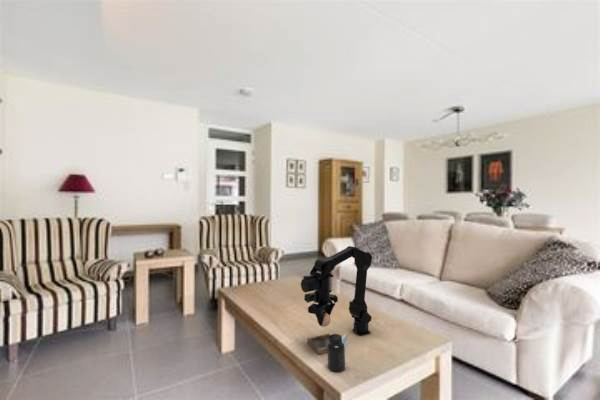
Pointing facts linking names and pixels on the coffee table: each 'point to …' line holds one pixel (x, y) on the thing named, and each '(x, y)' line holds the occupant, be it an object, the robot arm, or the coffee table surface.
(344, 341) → the light blue ledge shelf
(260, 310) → the coffee table surface
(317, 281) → the robot arm
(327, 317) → the ball
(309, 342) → the walnut tray
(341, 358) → the supplement bottle
